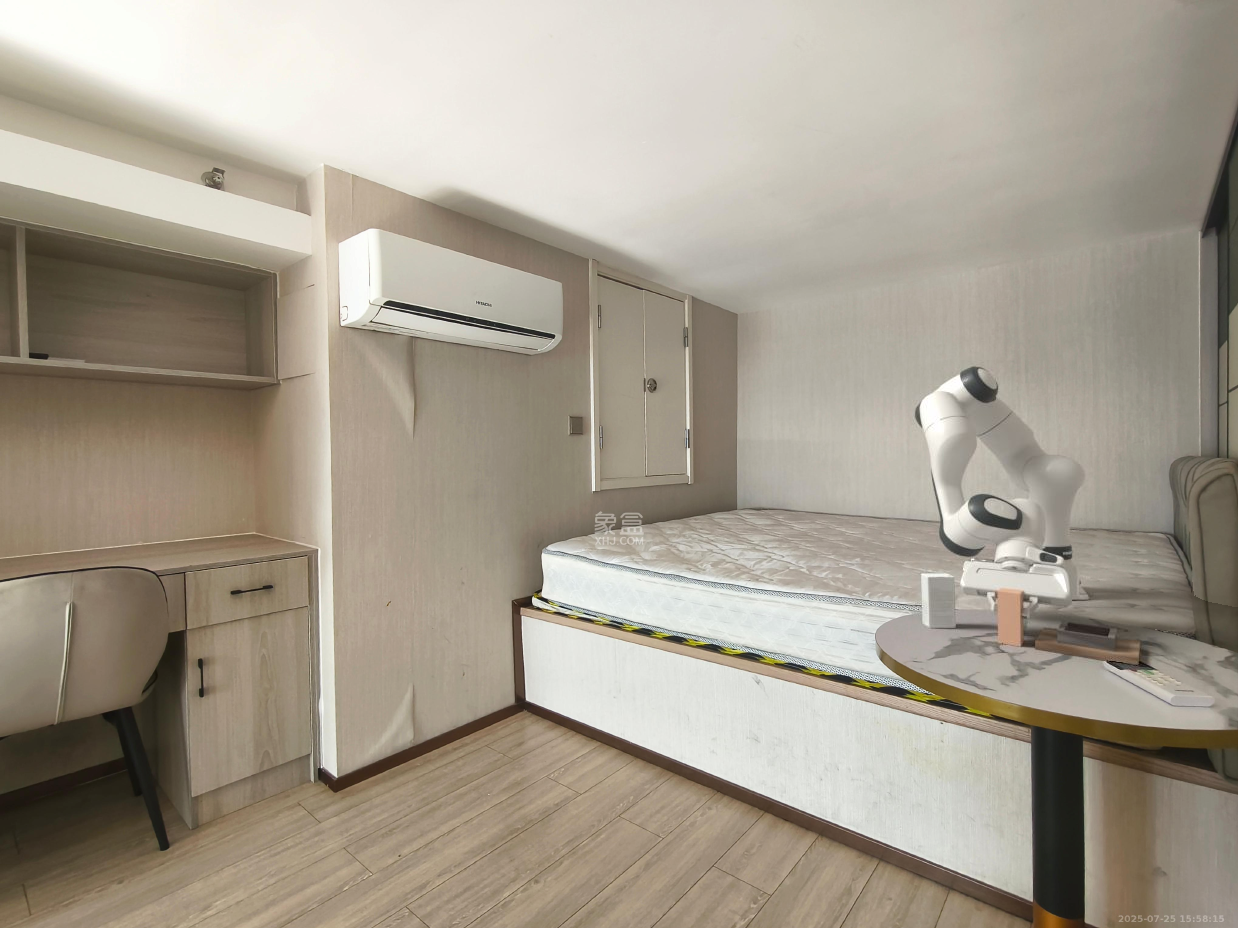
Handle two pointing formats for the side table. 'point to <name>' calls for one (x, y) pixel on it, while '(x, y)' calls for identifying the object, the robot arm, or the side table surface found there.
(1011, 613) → the peg
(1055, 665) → the side table surface
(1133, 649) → the socket board
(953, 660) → the side table surface
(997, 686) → the side table surface
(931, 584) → the skincare box
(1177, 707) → the side table surface
